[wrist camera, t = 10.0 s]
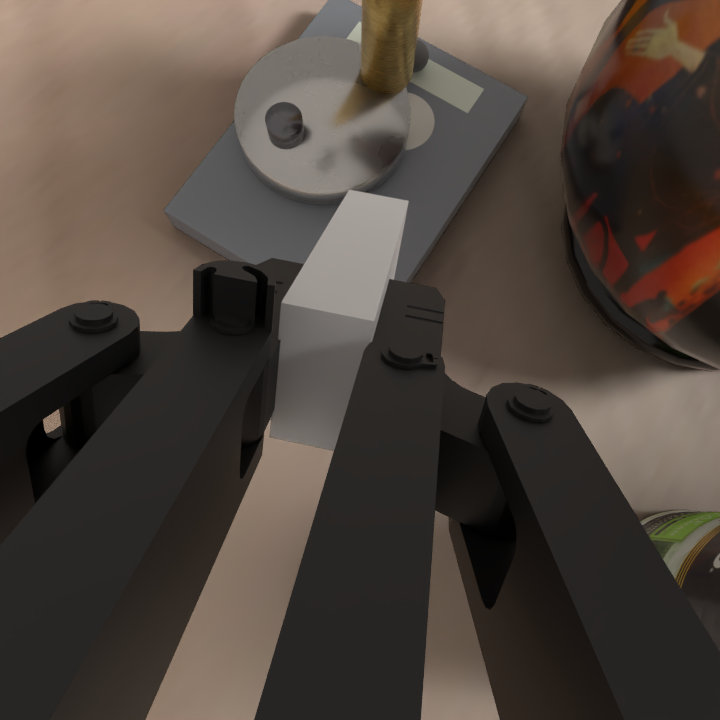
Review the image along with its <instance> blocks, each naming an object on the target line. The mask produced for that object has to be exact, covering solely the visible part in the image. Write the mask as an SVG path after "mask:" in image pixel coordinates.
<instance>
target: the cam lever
mask: <svg viewBox="0 0 720 720" xmlns="http://www.w3.org/2000/svg"><path fill="white" fill-rule="evenodd" d="M421 7H422V0H362V22H361V44H360V43H358V42H355V41H352V40H348V39H344V38H339V37H331V36H317V37H308V38H303V39H298V40H295V41H292V42H288V43H286V44H284V45H282V46H279V47H277V48H276V49H274V50H272V51H271V52H269V53H268V54H266V55H265V56H264V57H262V58H261V59H260V60H259V61H258V62H257V63H256V64H255V65H254V66H253V67H252V68H251V70H250V71H249V72H248V73H247V75H246V76H245V78H244V80H243V82H242V83H241V86H240V88H239V91H238V93H237V97H236V101H235V110H234V118H235V127H236V131H237V135H238V138H239V142H240V145H241V148H242V151H243V154H244V156H245V159H246V161H247V163H248V164H249V166H250V168H251V169H252V171H253V172H254V173H255V175H256V176H257V177H258V178H259V179H260V180H261V181H262V182H263V183H264V184H265V185H267V186H268V187H269V188H271V189H272V190H273V191H275V192H277V193H279V194H280V195H282V196H284V197H287V198H289V199H292V200H295V201H299V202H302V203H308V204H314V205H331V204H340V203H341V202H342V201H343V199H344V197H345V196H346V194H347V192H348V191H349V190H354V191H359V192H364V193H370V192H372V191H373V190H375V189H376V188H378V187H379V186H380V185H382V184H383V183H384V182H385V181H386V180H387V179H388V178H389V177H390V176H391V175H392V174H393V172H394V171H395V170H396V168H397V167H398V165H399V164H400V162H401V160H402V157H403V155H404V153H405V149H406V146H407V141H408V135H409V128H410V121H411V105H410V98H409V95H408V92H407V88H406V86H407V85H408V84H409V83H410V81H411V79H412V75H413V67H414V60H415V52H416V45H417V37H418V30H419V22H420V14H421Z"/></svg>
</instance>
